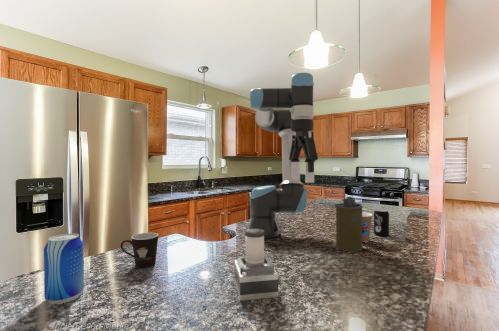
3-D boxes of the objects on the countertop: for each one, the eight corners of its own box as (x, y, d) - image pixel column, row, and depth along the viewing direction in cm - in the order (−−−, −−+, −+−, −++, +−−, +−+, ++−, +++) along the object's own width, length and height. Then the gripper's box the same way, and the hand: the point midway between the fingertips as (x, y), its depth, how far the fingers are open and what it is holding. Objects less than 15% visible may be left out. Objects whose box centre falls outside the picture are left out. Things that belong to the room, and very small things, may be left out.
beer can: (58, 290, 74) (57, 232, 73) (89, 289, 74) (89, 232, 74) (36, 307, 65) (35, 242, 65) (72, 305, 66) (71, 241, 66)
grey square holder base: (234, 279, 80) (234, 255, 80) (267, 277, 82) (267, 253, 82) (240, 300, 68) (240, 271, 68) (278, 296, 70) (278, 268, 70)
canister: (349, 253, 102) (350, 201, 102) (330, 245, 112) (330, 198, 111) (369, 249, 107) (369, 199, 107) (348, 242, 117) (348, 196, 116)
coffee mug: (163, 261, 94) (163, 233, 94) (147, 271, 86) (146, 240, 86) (137, 258, 98) (137, 231, 98) (118, 266, 90) (118, 237, 90)
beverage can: (390, 237, 124) (391, 211, 124) (375, 236, 125) (375, 210, 125) (386, 233, 130) (386, 208, 130) (372, 232, 132) (372, 208, 131)
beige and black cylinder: (242, 269, 73) (242, 232, 73) (249, 261, 78) (248, 228, 78) (261, 271, 71) (261, 234, 71) (266, 264, 76) (266, 229, 76)
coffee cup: (347, 242, 116) (347, 214, 116) (348, 236, 126) (348, 210, 126) (373, 245, 112) (373, 216, 112) (372, 238, 122) (372, 212, 122)
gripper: (281, 124, 104) (281, 178, 104) (305, 113, 79) (305, 184, 80) (299, 124, 105) (299, 178, 106) (329, 113, 81) (328, 183, 81)
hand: (301, 181), depth 93 cm, fingers open, 13 cm apart
